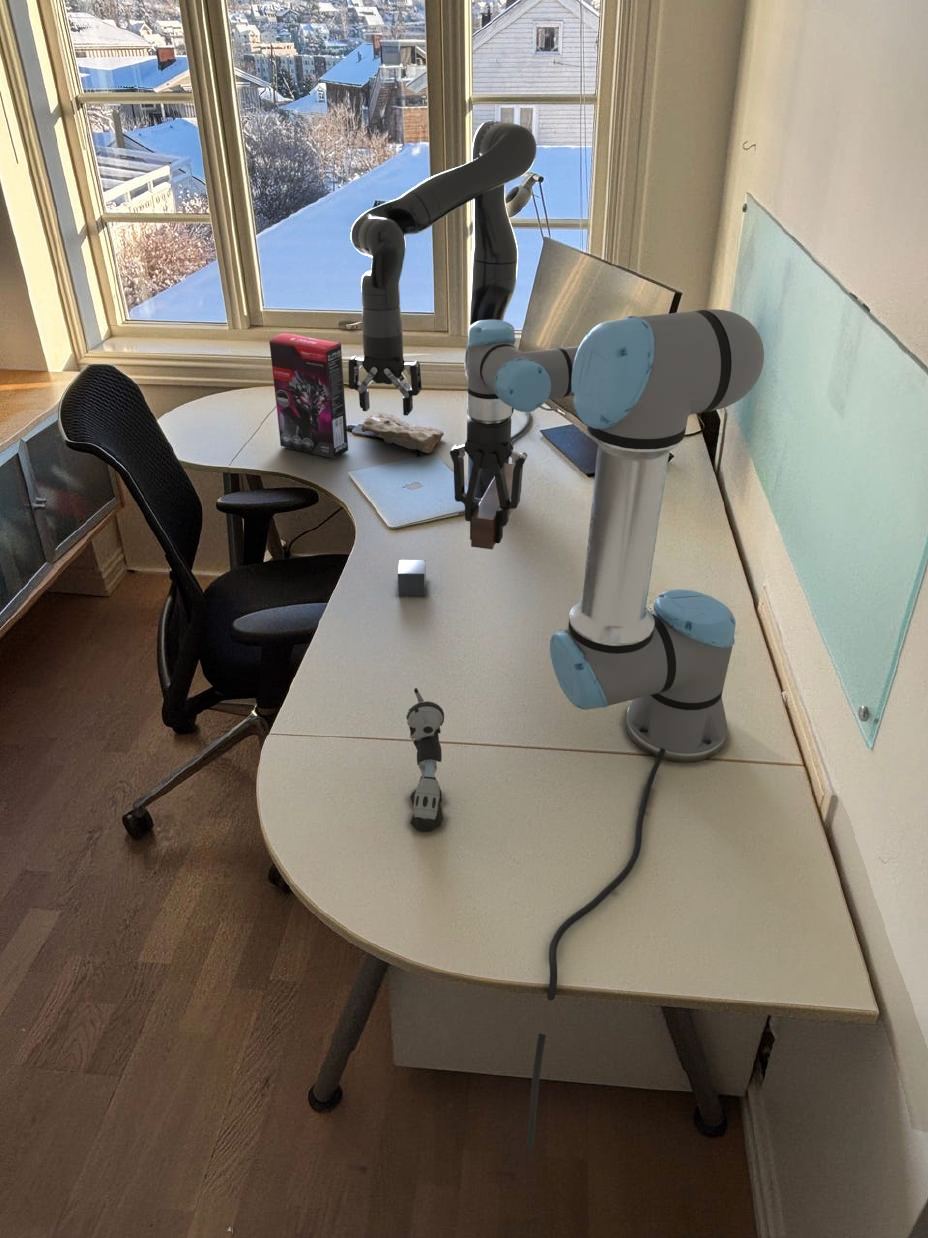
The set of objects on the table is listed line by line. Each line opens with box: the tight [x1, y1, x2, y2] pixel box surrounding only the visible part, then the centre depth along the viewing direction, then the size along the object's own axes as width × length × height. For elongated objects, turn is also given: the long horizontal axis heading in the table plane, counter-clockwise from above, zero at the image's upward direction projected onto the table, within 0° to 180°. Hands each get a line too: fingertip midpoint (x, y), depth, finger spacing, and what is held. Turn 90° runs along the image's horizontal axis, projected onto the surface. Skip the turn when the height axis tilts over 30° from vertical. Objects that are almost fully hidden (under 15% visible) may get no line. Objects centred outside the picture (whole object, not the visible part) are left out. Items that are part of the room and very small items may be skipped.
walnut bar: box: [470, 463, 522, 551], centre depth 173 cm, size 24×4×6 cm, turn 165°
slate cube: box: [397, 559, 427, 597], centre depth 176 cm, size 5×5×5 cm
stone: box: [360, 412, 444, 454], centre depth 233 cm, size 21×15×6 cm
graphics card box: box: [268, 332, 349, 459], centre depth 224 cm, size 17×7×27 cm, turn 62°
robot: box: [405, 687, 445, 833], centre depth 123 cm, size 20×5×20 cm, turn 3°
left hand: (386, 412), depth 182 cm, fingers open, 8 cm apart
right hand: (486, 537), depth 168 cm, fingers closed on walnut bar, 4 cm apart
